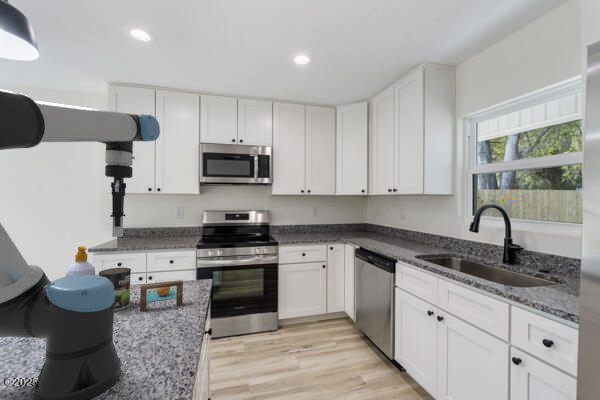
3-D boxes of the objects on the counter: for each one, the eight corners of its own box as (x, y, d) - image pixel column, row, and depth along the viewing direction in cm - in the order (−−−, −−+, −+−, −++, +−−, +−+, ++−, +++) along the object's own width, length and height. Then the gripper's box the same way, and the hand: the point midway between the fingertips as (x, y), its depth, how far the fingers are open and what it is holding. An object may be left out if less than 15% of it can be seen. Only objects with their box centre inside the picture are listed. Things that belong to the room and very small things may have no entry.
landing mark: (176, 297, 114) (176, 297, 114) (144, 302, 108) (144, 302, 108) (174, 289, 124) (174, 289, 124) (144, 293, 118) (144, 293, 118)
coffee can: (136, 302, 108) (136, 267, 108) (118, 312, 98) (119, 274, 98) (111, 301, 108) (111, 266, 109) (90, 312, 98) (91, 273, 98)
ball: (165, 291, 120) (166, 300, 116) (153, 288, 117) (153, 297, 113) (172, 281, 120) (173, 290, 115) (160, 278, 116) (160, 287, 112)
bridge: (182, 305, 106) (182, 281, 106) (140, 311, 99) (140, 287, 99) (181, 302, 109) (182, 279, 109) (140, 308, 102) (140, 284, 102)
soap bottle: (68, 317, 93) (70, 249, 93) (61, 310, 99) (63, 246, 99) (98, 310, 100) (100, 246, 100) (90, 303, 106) (92, 243, 106)
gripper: (131, 164, 85) (129, 238, 85) (133, 168, 96) (132, 233, 96) (102, 162, 81) (100, 239, 81) (108, 166, 92) (106, 234, 92)
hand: (117, 236), depth 88 cm, fingers closed
